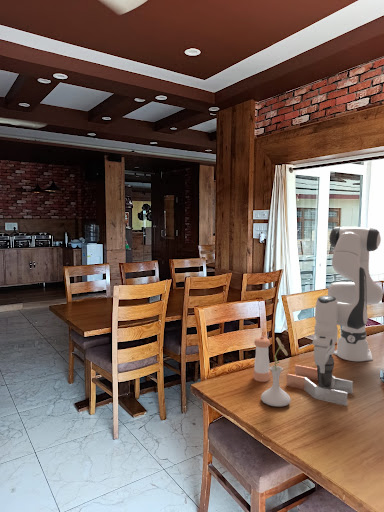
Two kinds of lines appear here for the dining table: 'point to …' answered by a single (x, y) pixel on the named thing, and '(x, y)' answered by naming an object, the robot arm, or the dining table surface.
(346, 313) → the robot arm
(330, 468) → the dining table surface
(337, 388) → the rail track
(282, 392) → the flower in vase
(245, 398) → the dining table surface
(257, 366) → the pepper shaker
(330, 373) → the beverage cup
